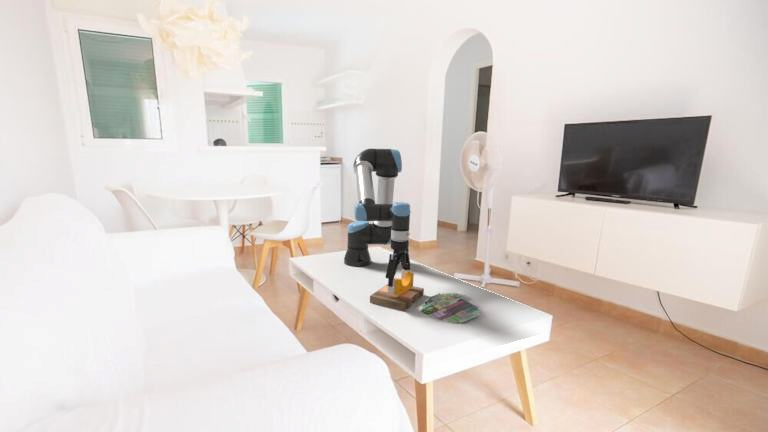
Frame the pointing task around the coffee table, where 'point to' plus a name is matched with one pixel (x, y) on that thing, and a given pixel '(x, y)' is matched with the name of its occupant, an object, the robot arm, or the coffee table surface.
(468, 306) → the city model
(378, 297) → the board
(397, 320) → the coffee table surface
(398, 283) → the pipe clamp
